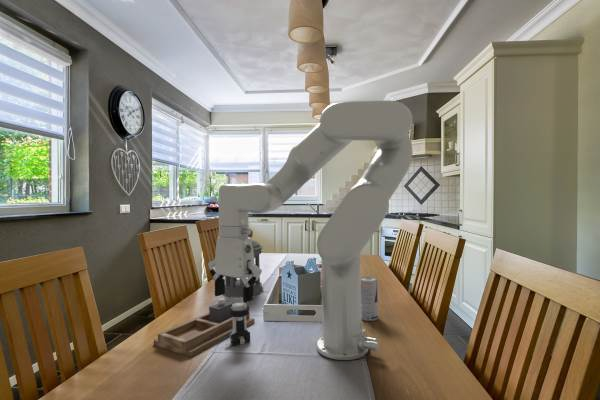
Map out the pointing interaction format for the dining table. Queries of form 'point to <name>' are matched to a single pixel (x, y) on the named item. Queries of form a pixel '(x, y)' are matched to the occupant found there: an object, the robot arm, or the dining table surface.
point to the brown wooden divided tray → (196, 335)
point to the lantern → (236, 286)
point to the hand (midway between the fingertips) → (233, 298)
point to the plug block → (220, 311)
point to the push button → (239, 324)
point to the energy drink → (369, 299)
